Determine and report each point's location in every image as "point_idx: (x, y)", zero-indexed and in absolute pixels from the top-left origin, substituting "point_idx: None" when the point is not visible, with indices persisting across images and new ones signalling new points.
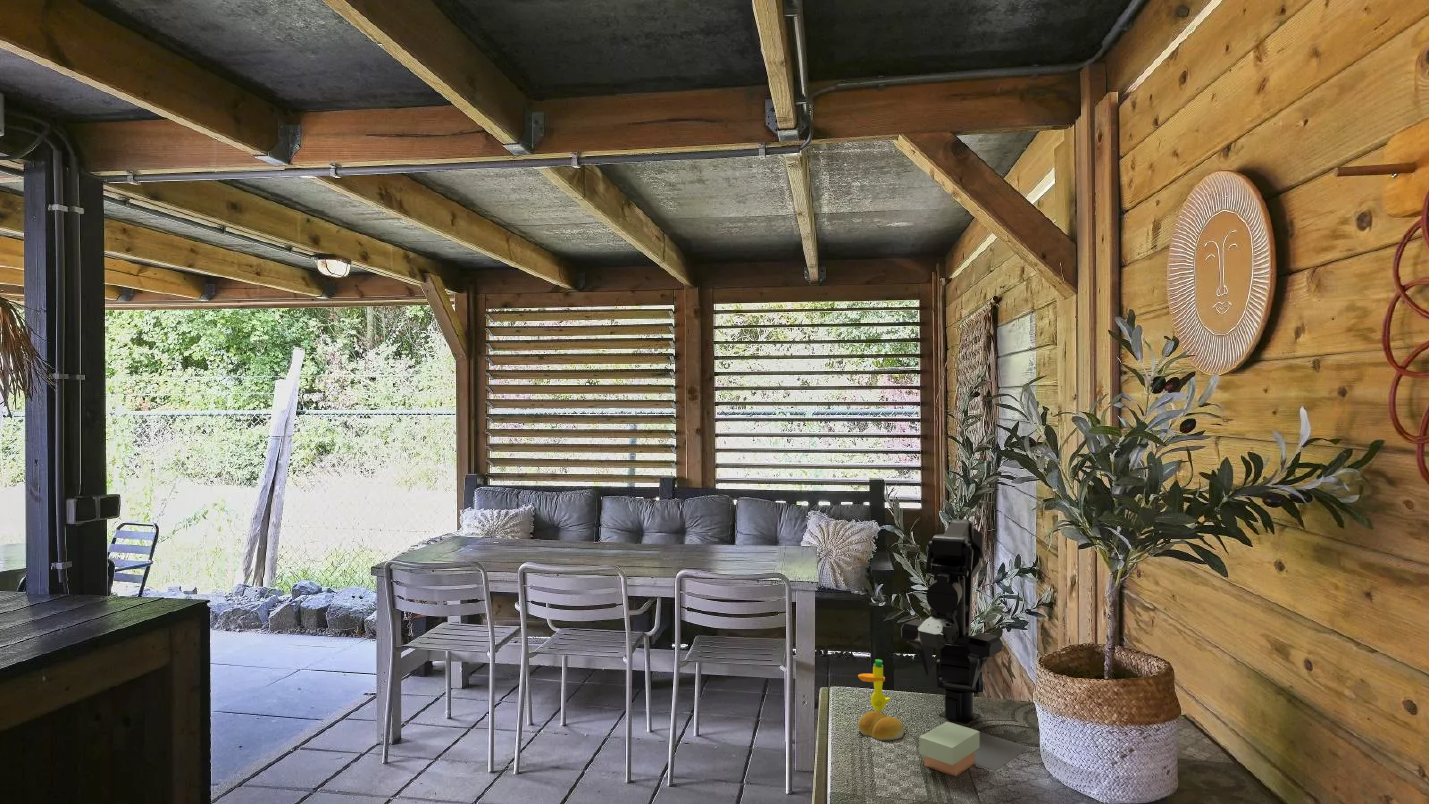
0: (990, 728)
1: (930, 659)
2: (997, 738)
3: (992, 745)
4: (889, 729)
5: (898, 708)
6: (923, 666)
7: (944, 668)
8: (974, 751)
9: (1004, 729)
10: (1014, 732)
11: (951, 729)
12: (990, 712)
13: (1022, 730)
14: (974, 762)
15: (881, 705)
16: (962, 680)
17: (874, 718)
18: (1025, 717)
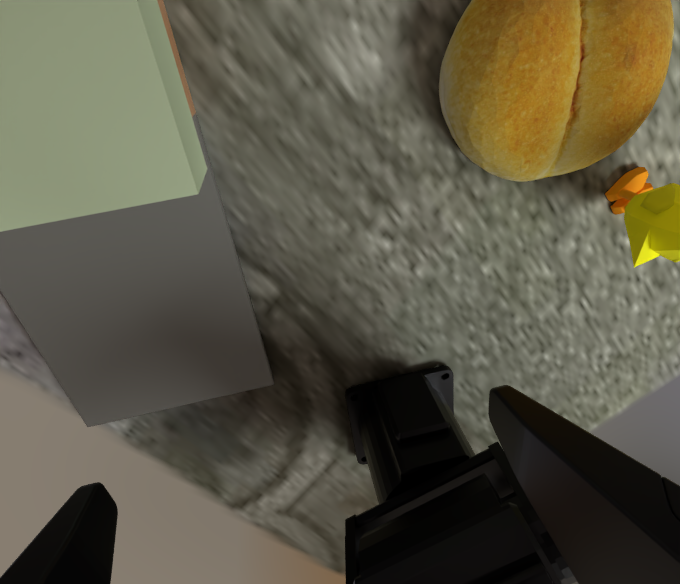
0: (286, 432)
1: (576, 543)
2: (198, 393)
3: (158, 341)
4: (489, 20)
5: (587, 314)
6: (580, 429)
7: (502, 545)
8: (146, 246)
9: (256, 456)
10: (222, 464)
11: (67, 105)
12: (363, 495)
13: (220, 488)
14: None
15: (640, 205)
16: (396, 534)
17: (608, 26)
18: (281, 538)
